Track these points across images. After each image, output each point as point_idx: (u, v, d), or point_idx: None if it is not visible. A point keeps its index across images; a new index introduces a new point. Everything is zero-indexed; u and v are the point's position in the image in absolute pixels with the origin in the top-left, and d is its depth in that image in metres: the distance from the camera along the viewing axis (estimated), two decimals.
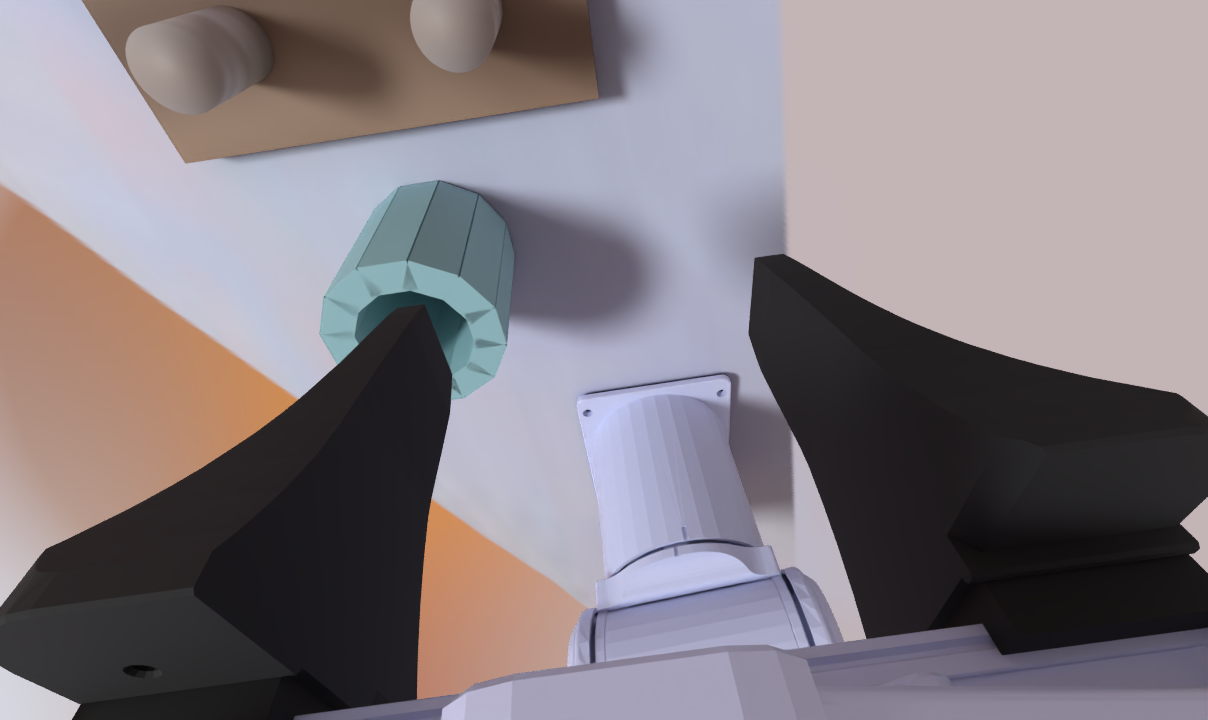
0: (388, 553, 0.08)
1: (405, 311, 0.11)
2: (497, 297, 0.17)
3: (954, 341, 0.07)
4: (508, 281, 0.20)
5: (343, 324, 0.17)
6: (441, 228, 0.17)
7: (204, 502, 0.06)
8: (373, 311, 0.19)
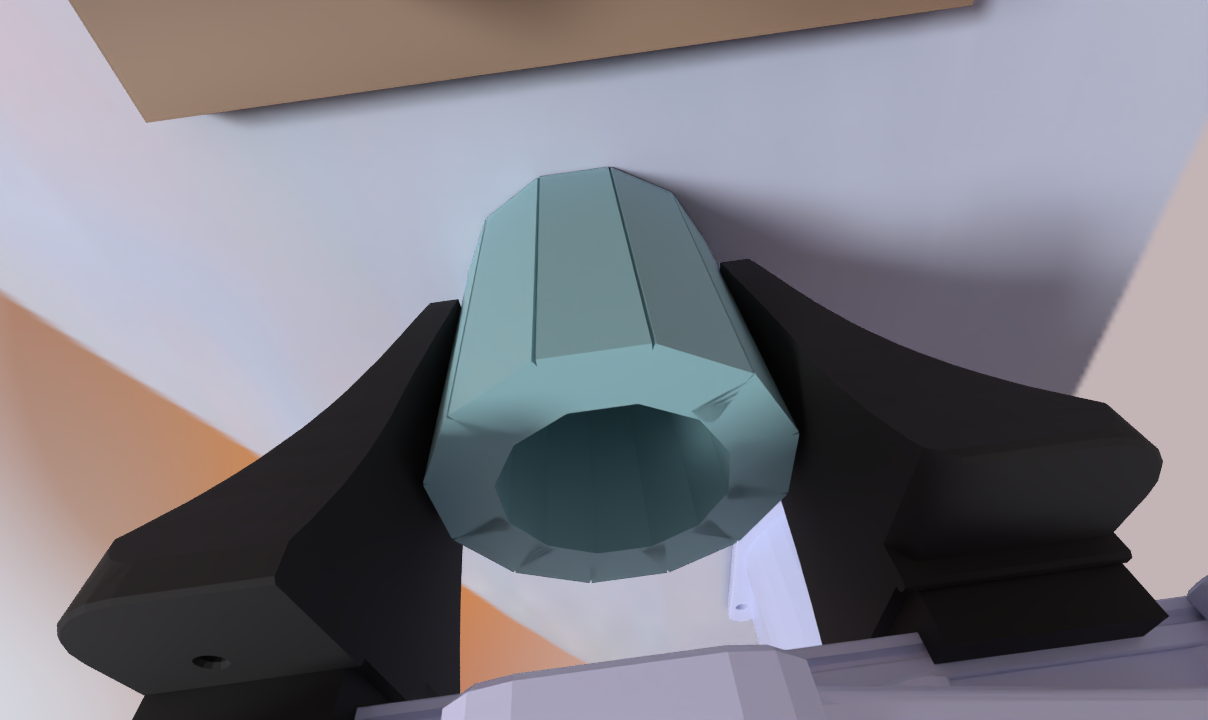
0: (433, 547, 0.08)
1: (440, 306, 0.11)
2: None
3: (902, 348, 0.07)
4: None
5: (477, 466, 0.08)
6: (664, 259, 0.09)
7: (266, 494, 0.06)
8: None
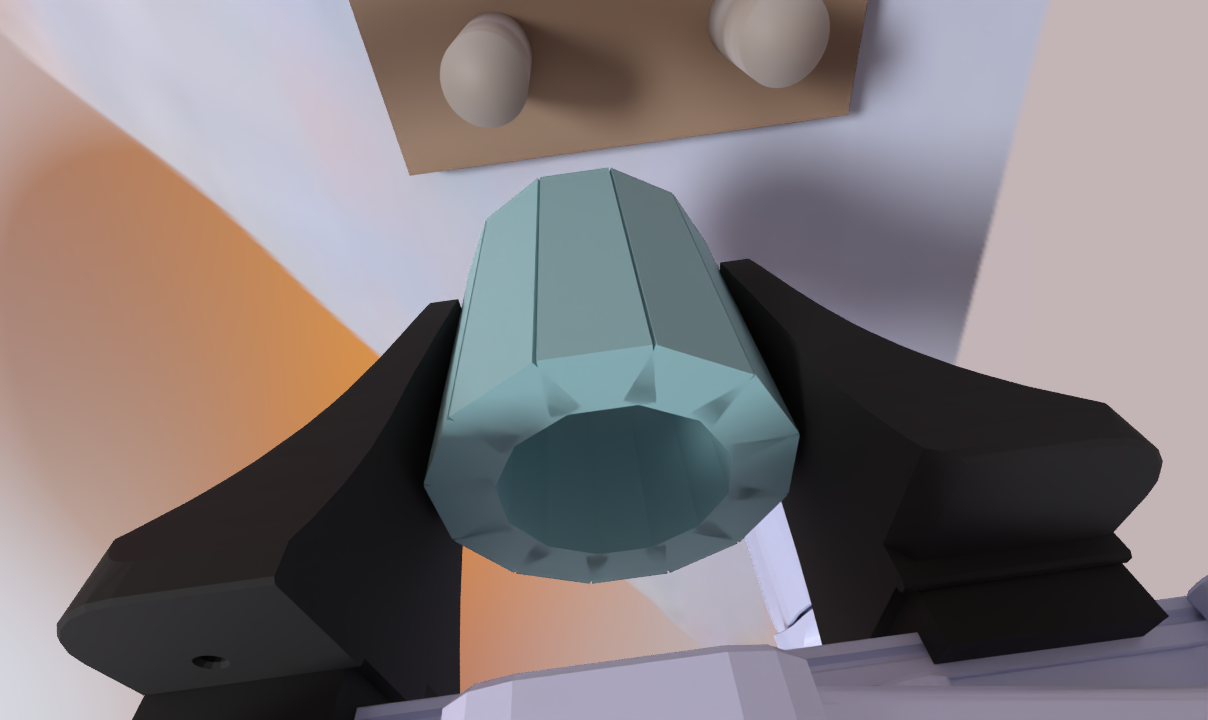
0: (433, 547, 0.08)
1: (440, 306, 0.11)
2: (782, 403, 0.08)
3: (902, 348, 0.07)
4: None
5: (477, 467, 0.08)
6: (664, 260, 0.09)
7: (266, 494, 0.06)
8: None
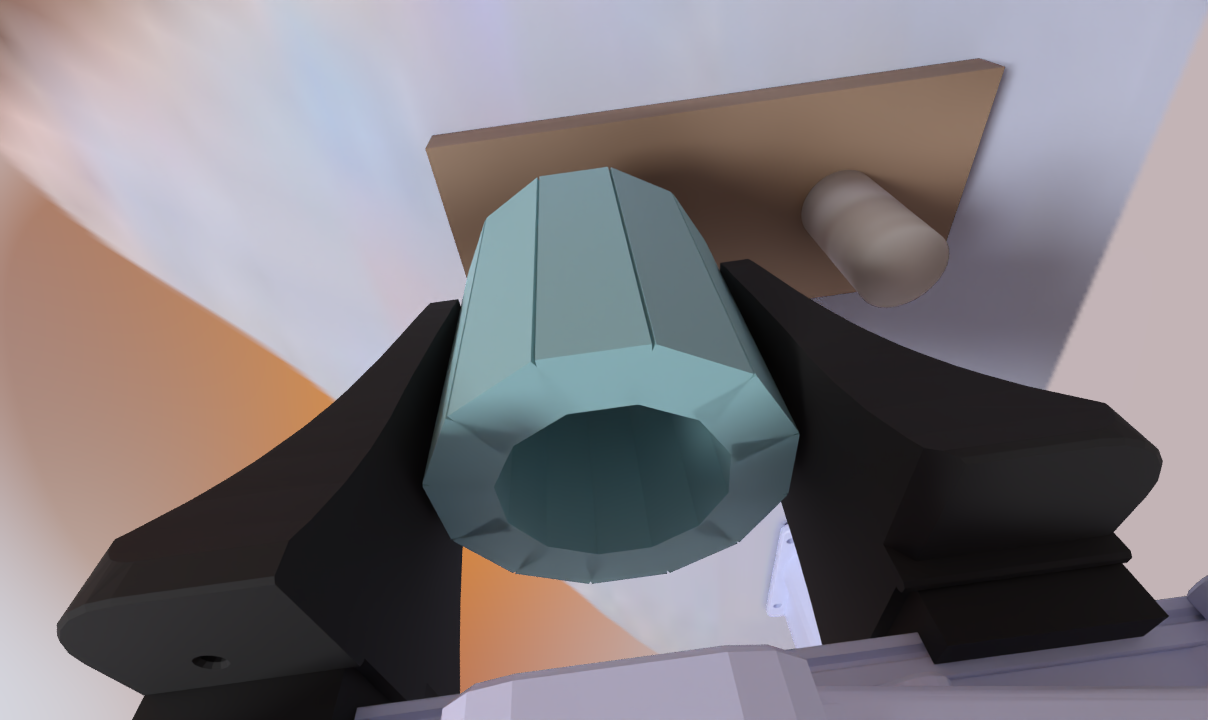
0: (433, 547, 0.08)
1: (440, 306, 0.11)
2: None
3: (902, 348, 0.07)
4: None
5: (476, 467, 0.08)
6: (664, 260, 0.09)
7: (267, 494, 0.06)
8: None
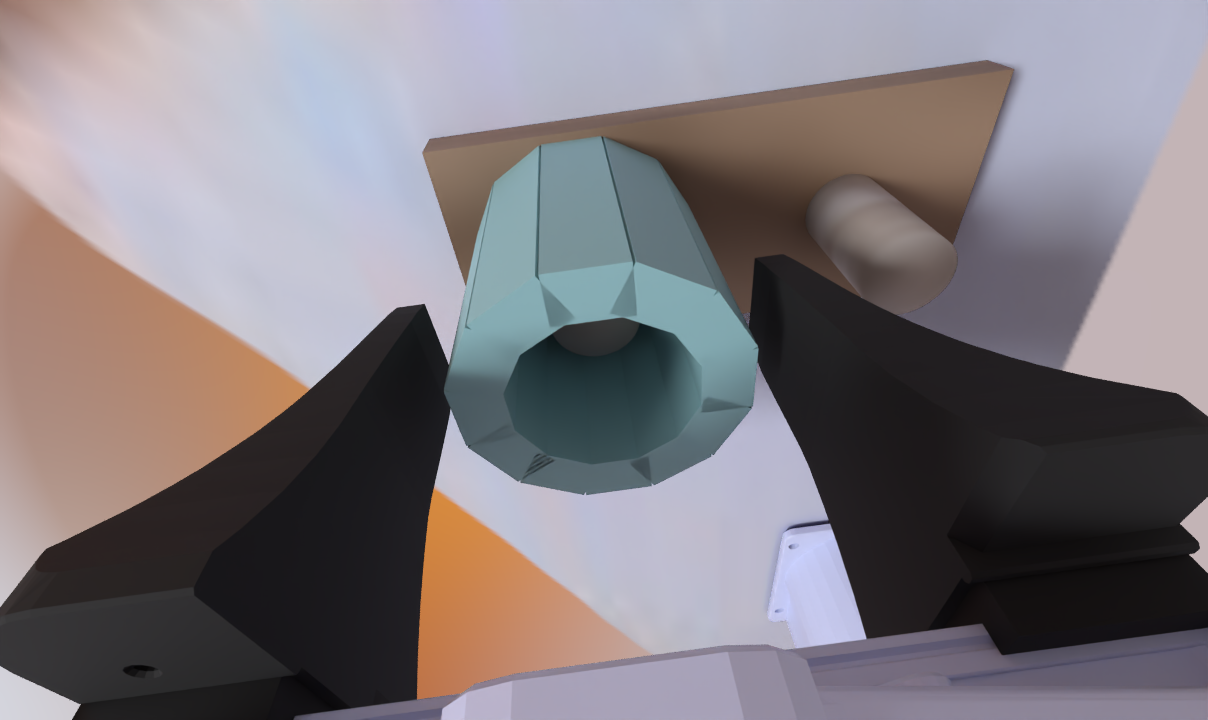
0: (388, 553, 0.08)
1: (405, 311, 0.11)
2: (746, 327, 0.10)
3: (954, 341, 0.07)
4: None
5: (489, 374, 0.09)
6: (647, 207, 0.10)
7: (203, 503, 0.06)
8: None
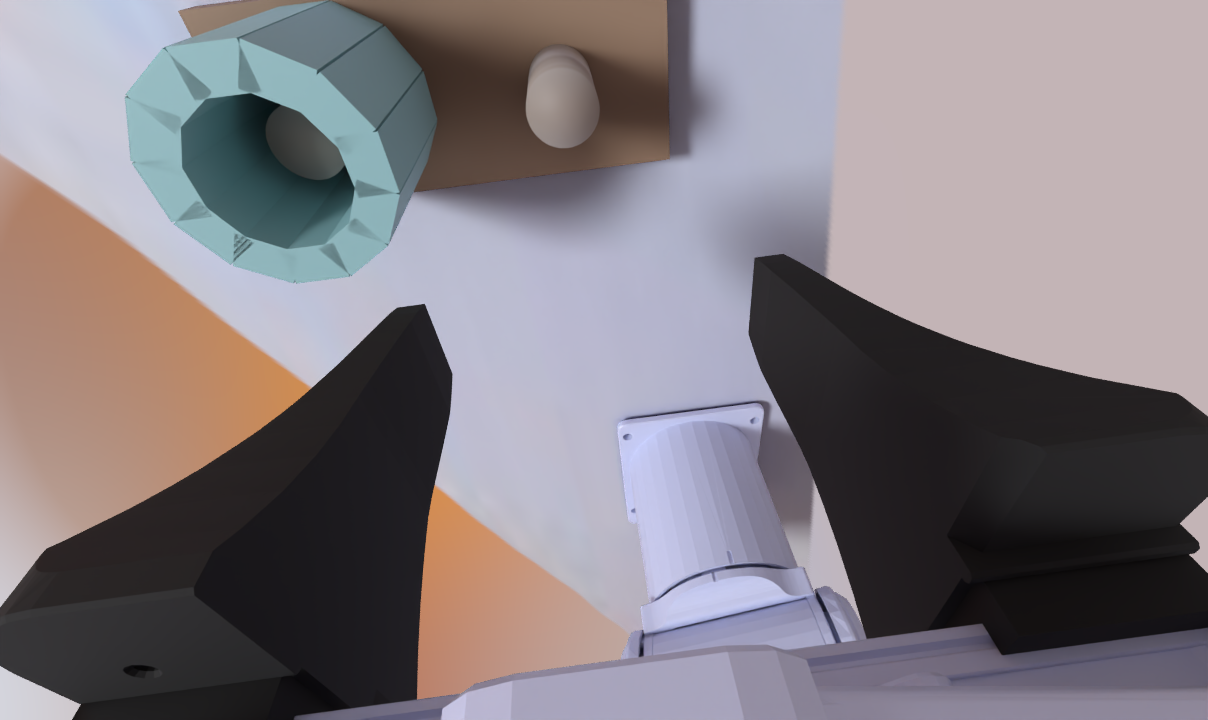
0: (388, 553, 0.08)
1: (405, 311, 0.11)
2: (385, 124, 0.13)
3: (954, 341, 0.07)
4: (417, 132, 0.15)
5: (162, 146, 0.12)
6: (311, 31, 0.13)
7: (204, 503, 0.06)
8: (227, 154, 0.14)
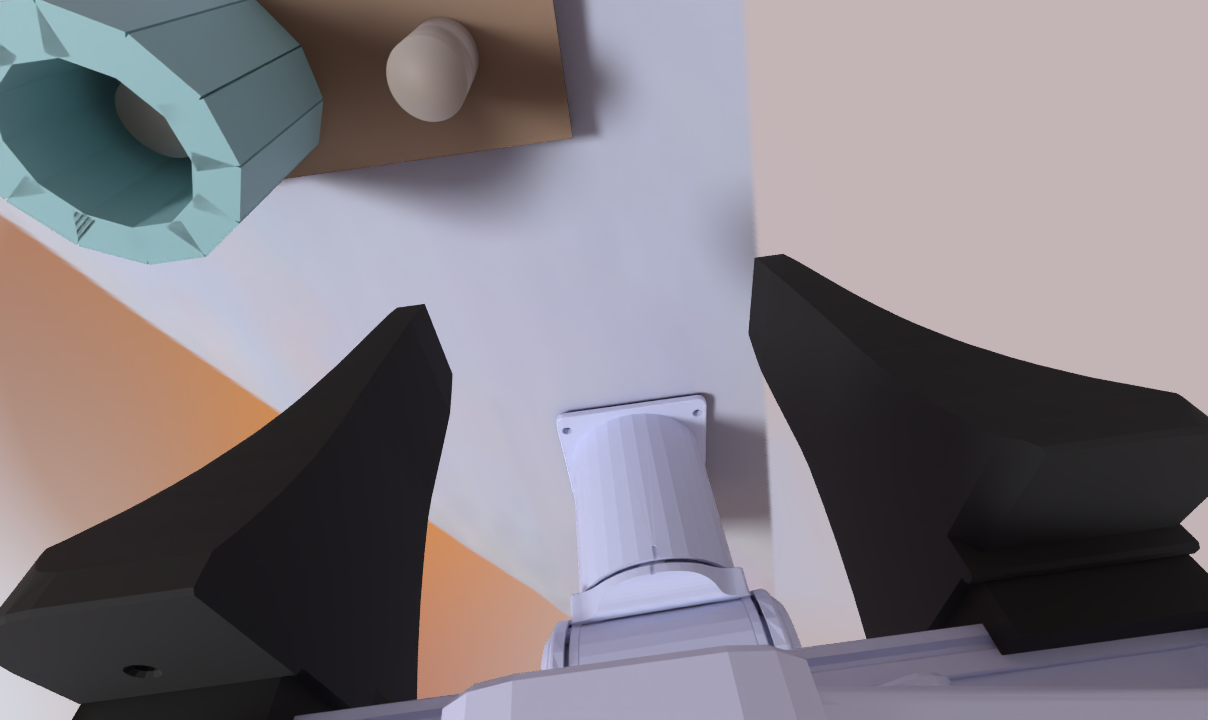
0: (388, 553, 0.08)
1: (405, 311, 0.11)
2: (220, 93, 0.12)
3: (954, 341, 0.07)
4: (282, 107, 0.15)
5: None
6: None
7: (203, 502, 0.06)
8: (73, 130, 0.13)
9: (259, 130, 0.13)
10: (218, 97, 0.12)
